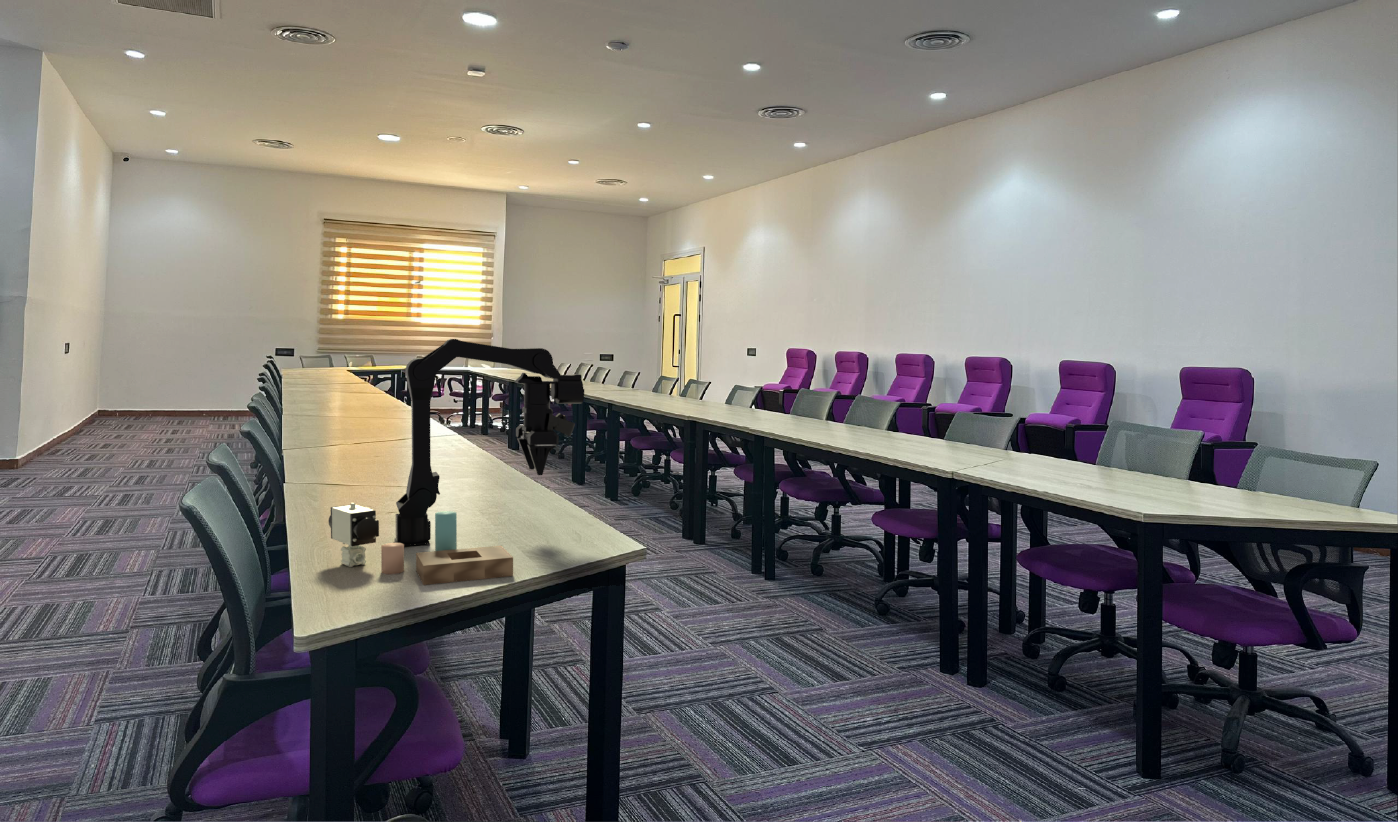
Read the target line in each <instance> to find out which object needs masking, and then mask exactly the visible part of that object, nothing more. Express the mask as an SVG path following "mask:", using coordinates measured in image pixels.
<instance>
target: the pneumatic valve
mask: <svg viewBox="0 0 1398 822" xmlns="http://www.w3.org/2000/svg"><path fill="white" fill-rule="evenodd" d="M376 513H377V512H376V510H374V509H372V508H371V507H368V506H365V507H364V506H362V505H358V504H356V503H355V502H350V504H345V505H344V504H343V505H339V506H338V505H337V506H331V507H330V515H329V518H328V526H329V527H330V539H332V540H334V541H337V542H340V543H342V545H344V546H342V547H341V548H340V551H341V560H340V563H341V565H344V566H346V567H349V568H352V567H354V566H359V565H362V566H364V565H366V562H367V561H366V550H367V548H366V547H364V546H363V545H369V544H374V543H377V537H380V520H378V519H377V517H376V516H377V515H376ZM345 545H348V546H345Z"/></svg>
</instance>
